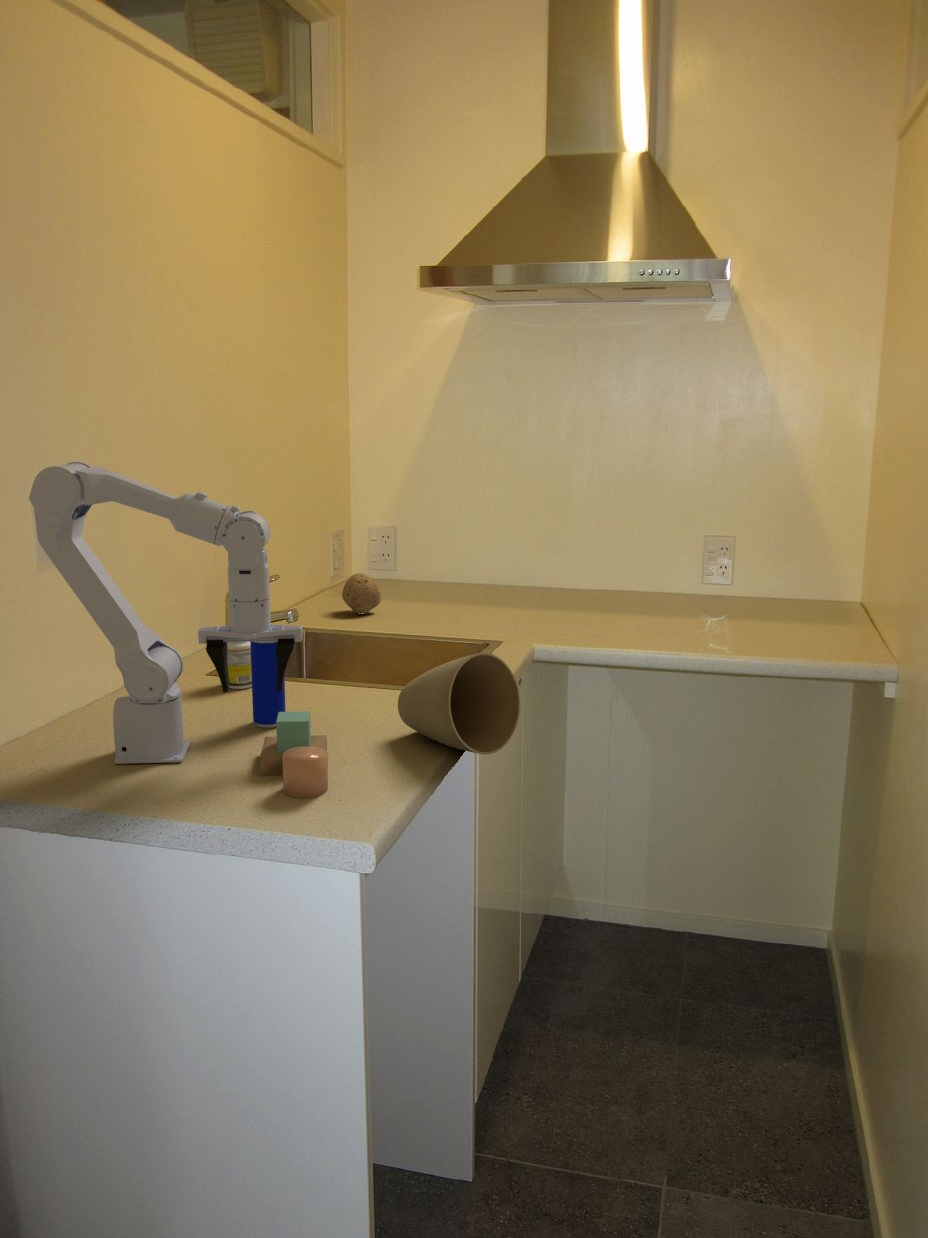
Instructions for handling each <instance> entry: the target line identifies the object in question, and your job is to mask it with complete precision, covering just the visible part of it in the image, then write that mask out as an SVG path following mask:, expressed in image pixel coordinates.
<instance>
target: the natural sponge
mask: <svg viewBox="0 0 928 1238" xmlns="http://www.w3.org/2000/svg"><path fill="white" fill-rule="evenodd" d="M341 596H342V600H343V601H344V603H345V604H346V606H348V607H349V608H350V609H351V610H352V612H354V613H356V614H357V613H367V612H368V613H370V612H371V610H373V609H375V608H377V607H378V606H379V604H380V603H381V601H382V600H381V599H382V596H381V591H380V589H379V587H378V584H377V582H376V581H375V580H374V578H373V577H371V576H370V575H367V574H365V573H363V572H362V573H361V572H358V573H355V574H352V575H351V576H350V577H348V578H347V580H346V581H345V583H344V586H343V589H342V594H341ZM368 613H367V614H368Z"/></svg>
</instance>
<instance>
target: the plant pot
mask: <svg viewBox="0 0 928 1238" xmlns="http://www.w3.org/2000/svg"><path fill="white" fill-rule="evenodd" d="M397 710H398V711H397V712H398V714H399V717H400V719H401V721H402V722H403V723H404V724H405V725H406V726H407V727H409V728H410V729H412V730H413V731H415V732H417V733H418V734H419V735H423V736H425V737H427V738H429V739H431V740H433V741H435V742H437V743H440V744H443V745H445V746H448V747H450V748H453V749H454V748H455V749H458V750H461V751H466V752H469V753H474V754H479V755H491V754H495V753H497V752H499V751H500V750H502V749H503V748H504V747H505V746H507V744H508V743H509V742H510V740H511V739H512V737H513V736H514V733H515V731H516V729H517V727H518V724H519V719H520V715H521V714H520V713H521V695H520V690H519V684H518V683H517V680H516V677H515V675H514V673H513V671H512V669H511V668H510V666H509V665H508V664H507V663H506V662H505V661H504V660H503V659H502V658H500V657H499V656H497V655H495V654H493V653H490V652H478V653H474V654H470V655H466V656H462V657H460V658H457V659H453V660H450V661H448V662H445V663H443V664H440V665H438V666H435V667H434V668H432V669H429V670H427V671H426V672H423V673H421V674H420V675H419V676H417V677H415V678H414V679H412V680H411V681H410V682H408V683H406V684H405V686H403V688H402V689H401V691H400V692H399V695H398V699H397Z"/></svg>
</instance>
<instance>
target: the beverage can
mask: <svg viewBox="0 0 928 1238" xmlns="http://www.w3.org/2000/svg"><path fill="white" fill-rule="evenodd" d="M277 642H278V641H255V642H250V648H251V675H252V687H251V695H252V721H253V723H254V725H256V726H257V727H258V728H265V729H270V728H272V729H273V728H276V721H277V717H278V713H279V712H287V711H286V683H285V681H286V680H285V675H284V678H283V689H282V691H277V656H276V645H277Z"/></svg>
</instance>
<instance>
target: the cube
mask: <svg viewBox="0 0 928 1238" xmlns="http://www.w3.org/2000/svg"><path fill="white" fill-rule="evenodd" d="M311 723H312V722H311V711H310V710H309V711H308V710H307V711H305V710H304V711H299V710H298V711H286V712H279V713H278V717H277V721H276V727H275V728H276V736H277V752H285V751H286V750H288V749H291V748H295V747H303V746H310V744H311V736H312V732H311V729H312V727H311V726H312V725H311Z"/></svg>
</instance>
